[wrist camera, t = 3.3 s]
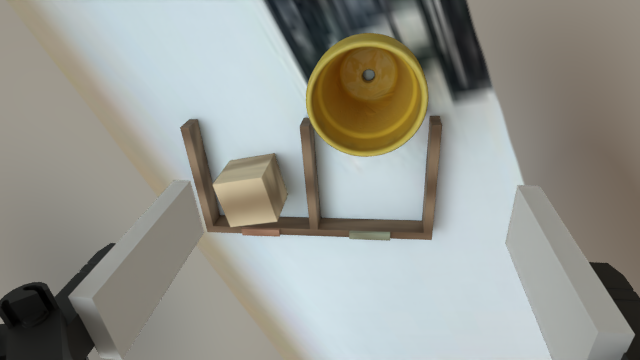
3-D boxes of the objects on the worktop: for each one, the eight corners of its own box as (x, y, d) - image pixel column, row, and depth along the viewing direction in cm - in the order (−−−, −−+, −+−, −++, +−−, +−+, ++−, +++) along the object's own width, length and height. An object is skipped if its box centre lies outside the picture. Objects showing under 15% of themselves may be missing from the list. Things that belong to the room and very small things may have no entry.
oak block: (230, 160, 50) (212, 184, 45) (274, 152, 48) (261, 177, 43) (245, 199, 53) (230, 227, 47) (288, 194, 51) (277, 221, 46)
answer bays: (189, 119, 48) (178, 128, 45) (439, 116, 43) (442, 126, 41) (214, 221, 55) (206, 233, 53) (429, 227, 50) (431, 241, 48)
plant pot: (408, 124, 44) (414, 166, 36) (316, 111, 45) (301, 149, 36) (430, 26, 39) (442, 48, 30) (325, 14, 39) (309, 32, 31)
